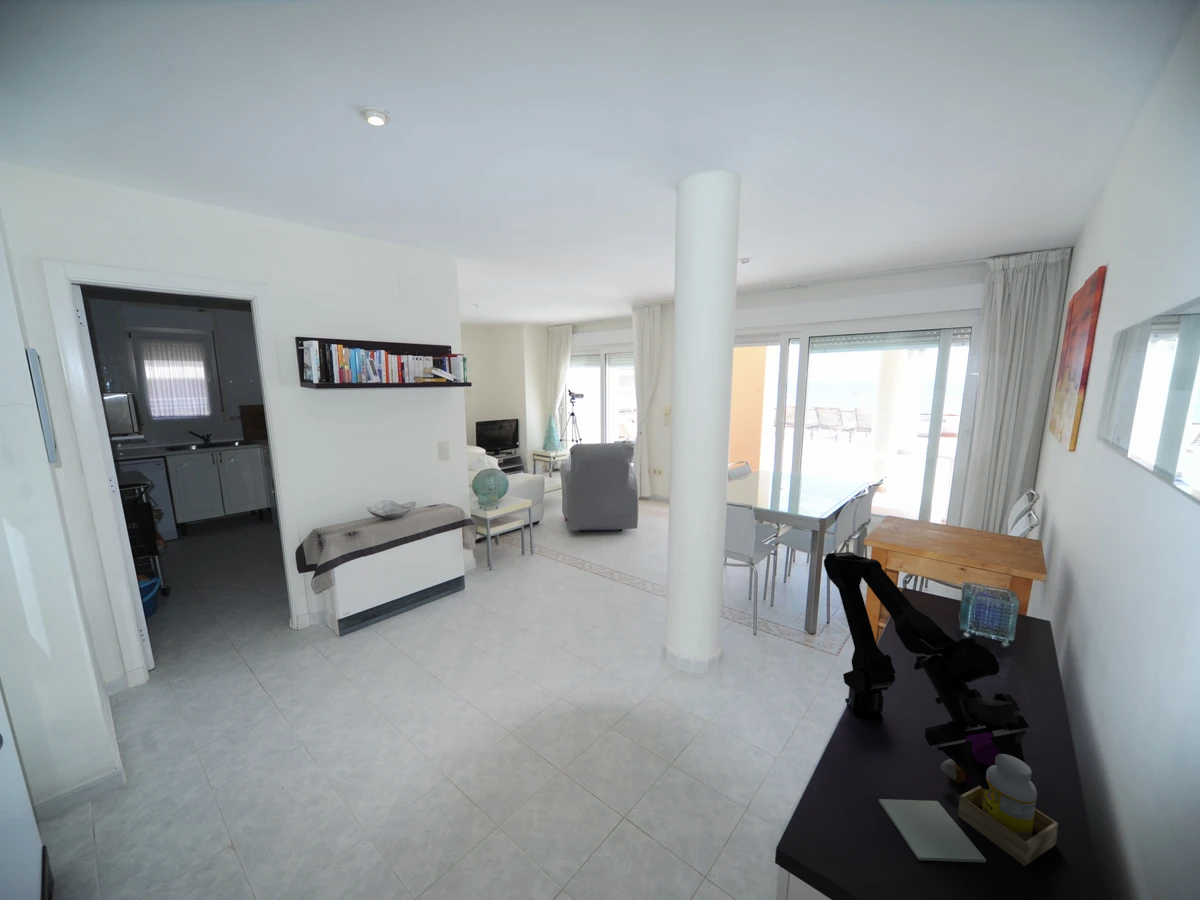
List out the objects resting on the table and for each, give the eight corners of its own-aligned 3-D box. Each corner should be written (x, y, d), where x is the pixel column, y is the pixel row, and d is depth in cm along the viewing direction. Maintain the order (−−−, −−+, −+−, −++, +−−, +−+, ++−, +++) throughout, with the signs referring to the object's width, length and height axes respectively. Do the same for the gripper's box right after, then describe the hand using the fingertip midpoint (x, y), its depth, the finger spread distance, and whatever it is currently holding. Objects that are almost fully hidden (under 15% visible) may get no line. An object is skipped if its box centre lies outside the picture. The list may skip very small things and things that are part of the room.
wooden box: (1024, 866, 73) (1027, 844, 73) (957, 815, 82) (959, 795, 82) (1055, 844, 77) (1058, 823, 77) (988, 798, 86) (990, 779, 86)
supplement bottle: (980, 806, 85) (987, 743, 83) (1028, 827, 80) (1037, 761, 79) (981, 832, 79) (989, 765, 78) (1032, 856, 75) (1042, 786, 74)
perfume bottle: (1009, 768, 94) (968, 805, 85) (966, 744, 100) (924, 776, 91) (1013, 735, 93) (972, 769, 84) (969, 713, 99) (927, 743, 91)
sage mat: (918, 860, 74) (919, 857, 74) (878, 801, 85) (879, 799, 85) (985, 862, 74) (986, 859, 74) (937, 803, 85) (937, 801, 85)
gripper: (944, 684, 81) (1005, 791, 71) (1023, 672, 85) (1090, 772, 76) (902, 697, 89) (952, 795, 80) (976, 686, 94) (1031, 777, 84)
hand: (1007, 784), depth 79 cm, fingers open, 9 cm apart
